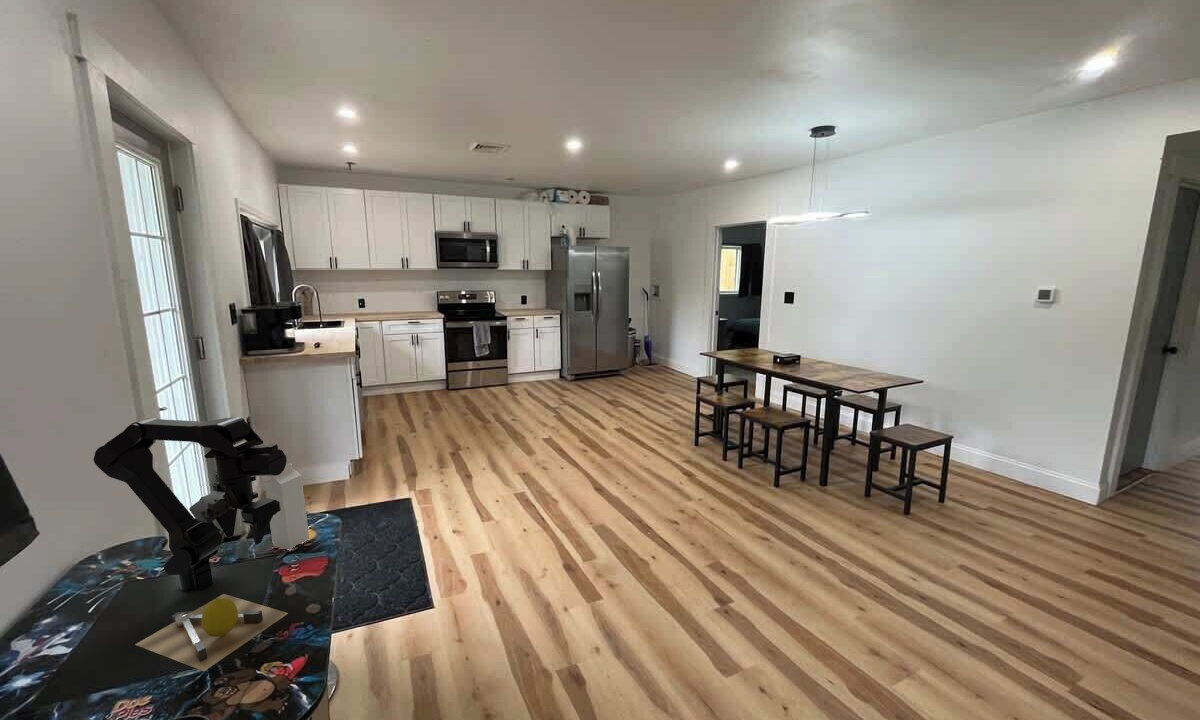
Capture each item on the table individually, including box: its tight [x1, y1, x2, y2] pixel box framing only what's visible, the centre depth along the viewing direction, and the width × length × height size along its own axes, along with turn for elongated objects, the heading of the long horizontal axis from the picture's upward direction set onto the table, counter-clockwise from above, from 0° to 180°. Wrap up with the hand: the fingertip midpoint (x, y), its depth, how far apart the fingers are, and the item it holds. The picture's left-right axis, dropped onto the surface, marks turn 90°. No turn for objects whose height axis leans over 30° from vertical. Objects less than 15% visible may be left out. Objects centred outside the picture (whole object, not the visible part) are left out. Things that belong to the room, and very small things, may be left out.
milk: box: [263, 462, 310, 550], centre depth 128 cm, size 6×6×22 cm
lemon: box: [202, 597, 238, 637], centre depth 93 cm, size 6×6×8 cm
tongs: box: [171, 610, 263, 662], centre depth 96 cm, size 17×12×2 cm
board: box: [134, 593, 289, 672], centre depth 96 cm, size 20×16×1 cm
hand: (244, 540), depth 109 cm, fingers open, 9 cm apart
